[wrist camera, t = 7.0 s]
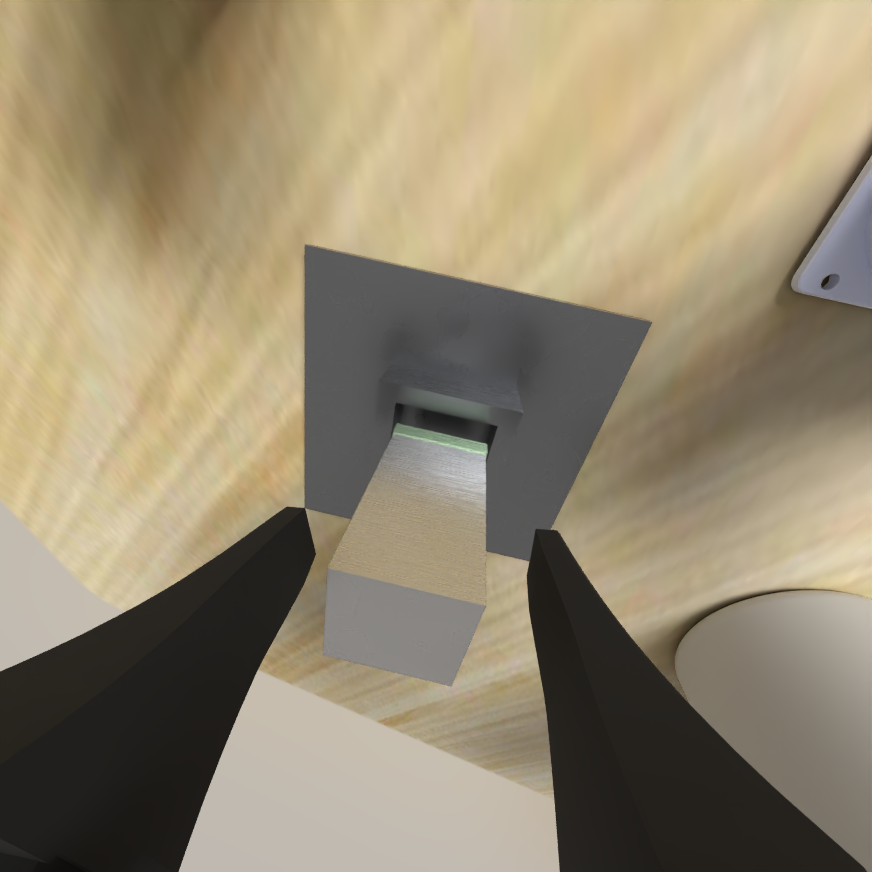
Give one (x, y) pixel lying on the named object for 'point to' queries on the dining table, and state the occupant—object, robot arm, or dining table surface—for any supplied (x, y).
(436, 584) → the column
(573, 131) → the dining table surface
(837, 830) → the cylinder vase
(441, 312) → the stand base
